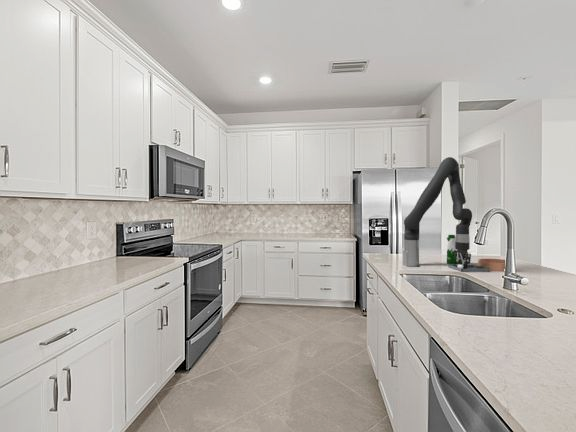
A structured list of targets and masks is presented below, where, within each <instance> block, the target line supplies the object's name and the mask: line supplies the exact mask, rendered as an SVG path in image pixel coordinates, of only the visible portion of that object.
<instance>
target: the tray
mask: <svg viewBox="0 0 576 432" xmlns="http://www.w3.org/2000/svg"><path fill="white" fill-rule="evenodd" d="M448 268H449V269H452V270H454V271H457V272H461V273H490V272H491V271H490V269H488V268H485V267H482V266H478V264H471V263H469V264H467V269H461V268H458V267H457V264H448Z"/></svg>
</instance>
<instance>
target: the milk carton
mask: <svg viewBox="0 0 576 432" xmlns="http://www.w3.org/2000/svg"><path fill="white" fill-rule="evenodd" d="M455 237H456V234H448V235H447V237H445V240H446V264H448V265H457V261H456V260H455V256H454V251H457V249H456V248H455ZM456 257H457V256H456ZM461 264H463V261H461Z"/></svg>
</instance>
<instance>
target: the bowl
mask: <svg viewBox="0 0 576 432" xmlns="http://www.w3.org/2000/svg"><path fill="white" fill-rule="evenodd" d="M505 260H506V259H500V258H479V259H477V265H478V266H482V267H485V268H488V269H490V272H503V273H505V272H504V269H505Z"/></svg>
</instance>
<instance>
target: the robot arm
mask: <svg viewBox="0 0 576 432" xmlns="http://www.w3.org/2000/svg"><path fill="white" fill-rule="evenodd" d="M460 178H461V177H460V164H459V162H458V161H457V160H456V159H455V158H454V157H451V156H450V157H446V158H444V159H443V160H442V161H441V162H440V164H439V166H438V168H437V169H436V172H435V174H434V176H432V178H431V179H430V181H429V182H428V184H427V185H426V187H425V188H424V190H423V191H422V193H421V195H420V196H419V198H418V200H416V201H417V202H416V203H415V205H414V207H413V208H412V210H411V212H410V213H409V214H408V215H407V216H406V217H405V218H404V220H403V224H404V234H403V238H404V239H403V240H404V241H403V250H402V265H403V266H405V267H412V268H413V267H419V266H420V222H421V221H422V219H423V216H424V215H425V214H426V213H427V211H428V210H429V209H430V208H431V207H432V206H433V204H434V203H435V202H436V201H437V199H438V197H439V196H440V194H441V192H442V189H443V187H444V183H445V182H446V180H447V179H448V183H449V190H450V191H449V192H450V197H451V200H452V216H453V218H454V220H457V221H460V222H459V223H458V224H456V225H455V248H456V249H457V251H454V256H455V260H456V261H457V264H461V261H463V269H467V264H471V260H472V259H471V257H472V253H469V250H470V248H471V247H470V246H471V245H470V244H471V243H470V227H471V226H470V225H471V223H472V218H473V213H472V210H471V209H469V208H466V207H465V208H463V206H464V205H465V204H466V201H467V199H466V196H465V193H464V189H463V186H462V183H461V182H462V181H461V179H460ZM456 256H457V257H456ZM457 264H456V265H457Z"/></svg>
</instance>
